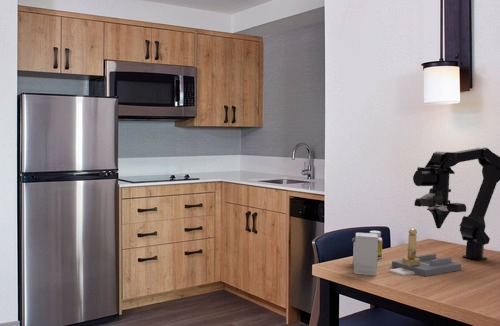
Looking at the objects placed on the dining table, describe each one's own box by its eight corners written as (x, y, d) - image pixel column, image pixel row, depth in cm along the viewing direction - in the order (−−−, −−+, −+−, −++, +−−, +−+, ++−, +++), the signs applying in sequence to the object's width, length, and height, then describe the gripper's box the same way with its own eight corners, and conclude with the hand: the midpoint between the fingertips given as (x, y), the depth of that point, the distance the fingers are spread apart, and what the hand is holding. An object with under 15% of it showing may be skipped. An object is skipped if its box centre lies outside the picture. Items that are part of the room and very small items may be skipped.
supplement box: (376, 276, 176) (378, 237, 175) (353, 274, 177) (355, 235, 177) (376, 270, 183) (377, 233, 183) (353, 268, 185) (355, 231, 184)
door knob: (412, 262, 187) (414, 227, 186) (419, 264, 184) (421, 228, 183) (402, 264, 184) (404, 228, 183) (409, 266, 181) (411, 229, 180)
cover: (400, 271, 186) (400, 267, 185) (414, 275, 181) (415, 271, 181) (388, 273, 182) (388, 269, 182) (402, 277, 177) (403, 274, 177)
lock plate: (427, 261, 199) (428, 251, 199) (460, 269, 188) (461, 259, 188) (391, 266, 189) (392, 256, 189) (424, 276, 177) (425, 265, 177)
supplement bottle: (383, 257, 204) (384, 231, 203) (380, 260, 199) (381, 233, 198) (368, 255, 206) (369, 229, 206) (365, 258, 201) (366, 231, 201)
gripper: (405, 184, 203) (403, 225, 203) (448, 189, 187) (446, 234, 188) (425, 183, 209) (423, 223, 210) (468, 188, 193) (465, 232, 194)
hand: (438, 228), depth 200 cm, fingers closed
